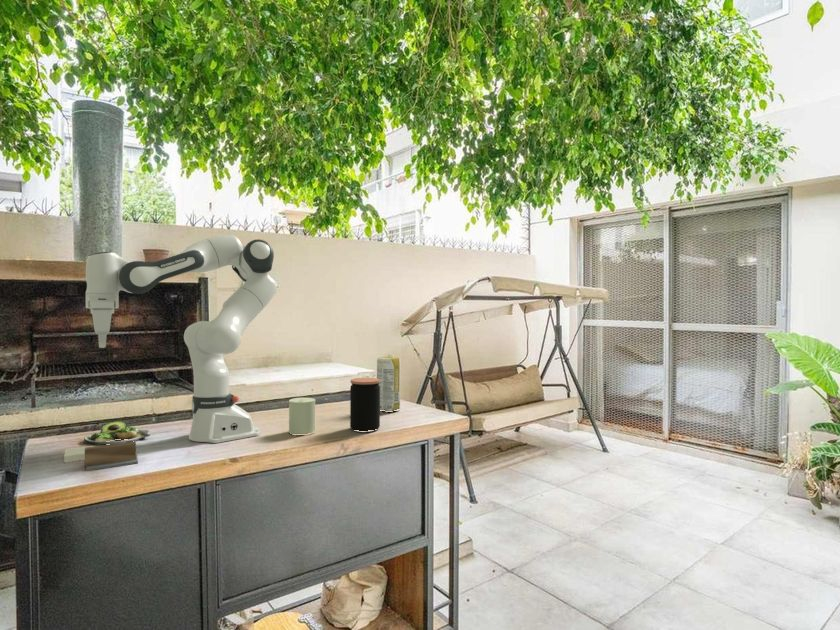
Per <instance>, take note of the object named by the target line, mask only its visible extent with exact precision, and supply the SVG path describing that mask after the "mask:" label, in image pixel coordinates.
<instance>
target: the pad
mask: <svg viewBox="0 0 840 630" xmlns="http://www.w3.org/2000/svg"><path fill="white" fill-rule="evenodd" d="M138 464H139V458H138V454H136V460H129V461H122V462H115V463H107V464H100V465H93V466H86V468H85V469H86V471H87V470H89V471H95V470H94V469H96V470H101V469H100V468H103V469H107V468H106V467H110V468H114V467H113V466H117V467H124V466H129V465H138ZM87 472H88V471H87Z"/></svg>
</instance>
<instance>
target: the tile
mask: <svg viewBox="0 0 840 630" xmlns="http://www.w3.org/2000/svg"><path fill="white" fill-rule="evenodd" d="M94 446H95V445H90V446H89V445H88V446H87V447H94ZM85 447H86V446H80V447H71V448H65V451H64V455H63V456H64V457H63V463H64V462H66V463H72V461H73V462H79V460H81V461H85Z"/></svg>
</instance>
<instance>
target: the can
mask: <svg viewBox="0 0 840 630" xmlns="http://www.w3.org/2000/svg"><path fill="white" fill-rule="evenodd" d="M288 410H289V411H288V412H289V413H288V416H289V417H288V434H289V433H291V434H308V433H312V432H314V431H316V398H313V397H295V398H291V399H289V400H288Z"/></svg>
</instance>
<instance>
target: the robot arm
mask: <svg viewBox="0 0 840 630" xmlns="http://www.w3.org/2000/svg"><path fill="white" fill-rule="evenodd" d="M274 254H275V253H274V249H273V247H272V245H271V244H270V243H269V242H268V241H266V240H264V239H253V240H251V241H249V242H247V244H245V246H244V245H243V244H242V242H241V240H240V238H238V237H237V236H236V235H233V234H226V235H225V234H223V235H217V236H212V237H209V238H205V239H202V240H199V241H197V242H194V243H192V244H190V245H188V246H186V248H185V249H184V250H183V251H182V252H180V253H177V254H175V255H172V256H169V257H166V258H162V259H159V260H155V261H143V260H142V261H139V260H134V261H131V260H130V261H129V260H128V259H126V258H124V257H122V256H120V255H119V254H117V253H116V252H114V251H100V252H95V253H92V254H90V255H89V256H88V257H87V260H86V263H85V282H86V290H85V309H89V310H90V314H91V315H92V323H93V329H94V334H97V339H98V348H99V349H104V348H105V349H106V347H107V335H108V334H110V329H111V322H112V315H113V314H115V309H119V307H120V305H119V304H120V297H119V295H120V294H119V293H120V291H124V292H126V293H130V294H138V295H139V294H146V293H147V292H150V291H151V290H153V288H155V287H156V286H157V285H158V284H159V283H160V282H162V281H165V280H167V279H170V278H173V277H177V276H179V275H182V274H185V273H186V274H187V273H197V274H201V273H205V272H211V271H214V270H217V269H218V270H219V269H220V268H223V267H226V266H231V268H232V270H233V271H234V273H235V274H236V275H237V276H238V277H239V278H240V280H241V281H242V282H244V283H243V284H242V285H241V286H240V287H238V289H236V291H234V292H233V293H232V294H231V295H230V296H229V297H228V298H227V299H226V300H225V301H224V302H223V303H222V307H221V309H220V311H219V312H218V315H217V316H216V317H215V318H214V319H212V320H208V321H207V320H200V321H196V322H193V323H192V324H190V325H189V326H187V327H186V329H185V330H184V334H183V340H184V343H185V345H186V347H187V349H188V353H189V357H190V362H191V365H192V372H193V374H192V375H193V395H192V400H191V411H192V421H191V428H190V432H189V436H188V440H189V441H191V442H192V441H193V442H199V443H201V442H203V443H211V444H218V443H222V442H223V443H224V442H229V441H234V440H241V439H245V438H251V437H257V436H259V435H260V428H259V427H258V426H255V425H254V422H253V419H252V418H253V417H252V416H251V414H250V413H249V412H247V410H244V409H243V408H242V407H240V406H239V405H237V404H235V403H238V402H239V401H240V399H239V396H237V395H234V394H232V393H230V371H229V368H228V367H227V365H226V362H225V359H224V356H225V355H229V354H232V353H235V351H237V349H238V348H239V347H240V346H241V344H242V343H241V342H242V336H243V334H244V332H245V330H246V329H247V327H248V326H249V325H250V323H252V322H253V320H254V319H255V318H256V317H257V316H258V315H259V314H260V313H261V312H262V311H263V310H264V309H265V307H267V305H268V304H269V303H270V301H271V300H272V299H273V297H275V294H276V292H277V290H278V287H277V283H276V281H275V280H274V279H273V278H272V277H271V276H270V274H269V273H270V272H271V271H272V268H273V263H274V258H275V256H274Z"/></svg>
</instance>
